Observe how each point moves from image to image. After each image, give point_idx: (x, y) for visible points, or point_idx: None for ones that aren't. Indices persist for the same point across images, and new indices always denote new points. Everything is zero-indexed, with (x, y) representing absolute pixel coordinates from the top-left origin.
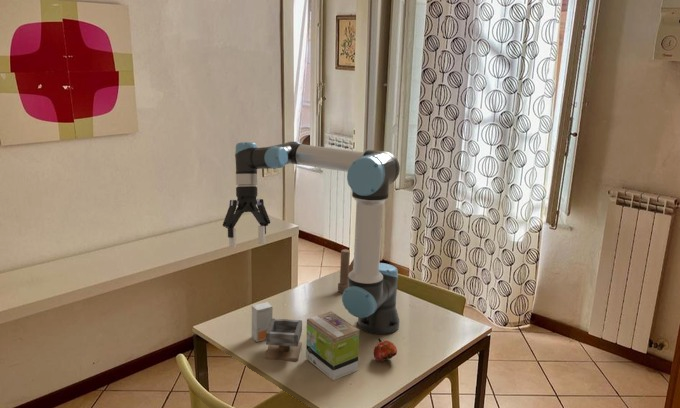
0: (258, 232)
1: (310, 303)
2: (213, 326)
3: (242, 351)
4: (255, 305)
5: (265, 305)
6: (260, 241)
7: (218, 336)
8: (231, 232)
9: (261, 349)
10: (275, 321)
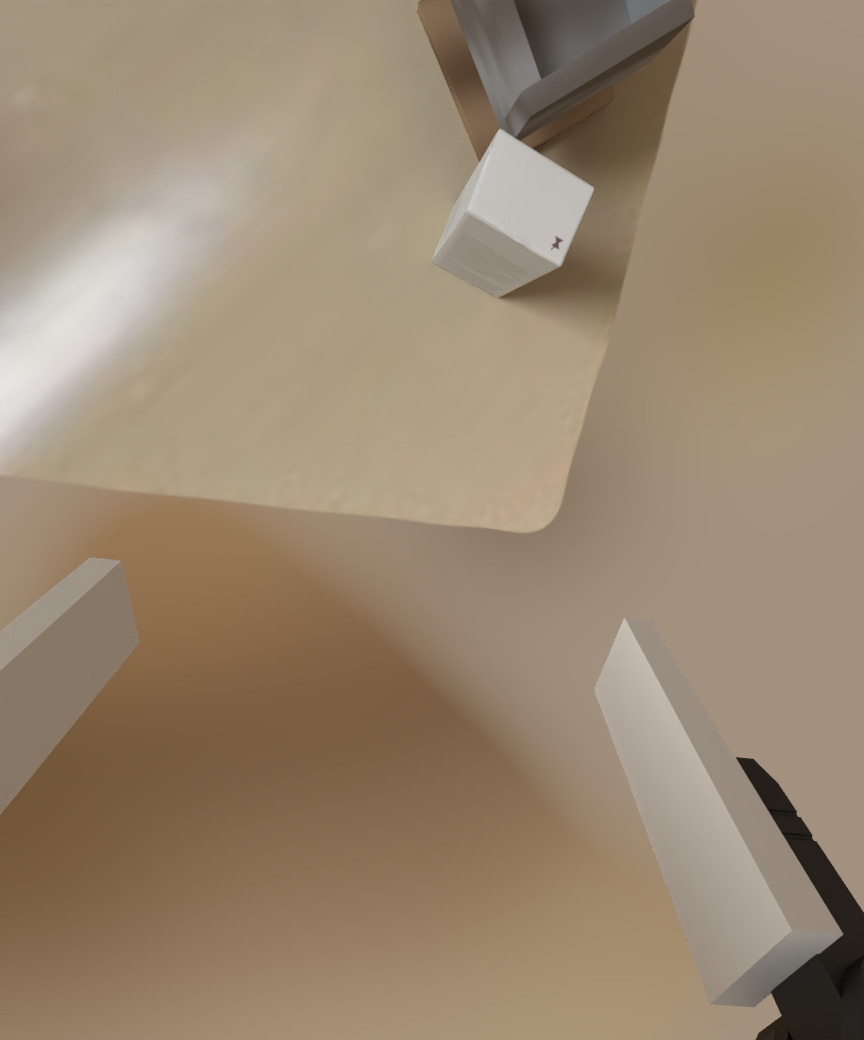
0: (20, 787)
1: (12, 279)
2: (512, 493)
3: (606, 247)
4: (548, 245)
5: (516, 183)
6: (113, 634)
7: (561, 419)
8: (800, 855)
9: None
10: (537, 77)
